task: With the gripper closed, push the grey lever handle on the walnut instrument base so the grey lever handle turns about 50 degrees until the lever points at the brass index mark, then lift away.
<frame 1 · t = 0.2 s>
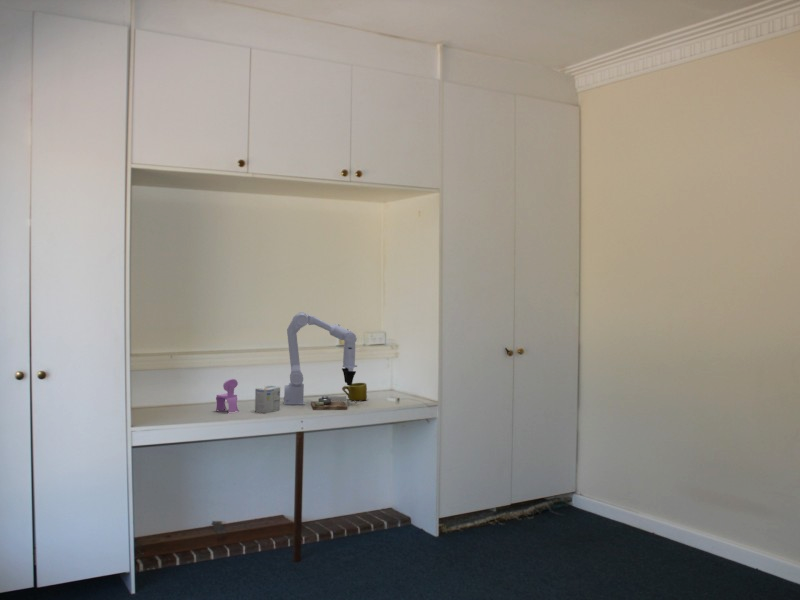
hand: (348, 383, 371), 10 cm above the table, fingers open, 7 cm apart
toy chair: (227, 411, 342), on the table
instrument base: (328, 407, 360), on the table
light bulb box: (267, 411, 347), on the table
mug: (354, 400, 383), on the table
grey lever handle: (332, 400, 361), point 3 cm above the table, hinge at 0.0°
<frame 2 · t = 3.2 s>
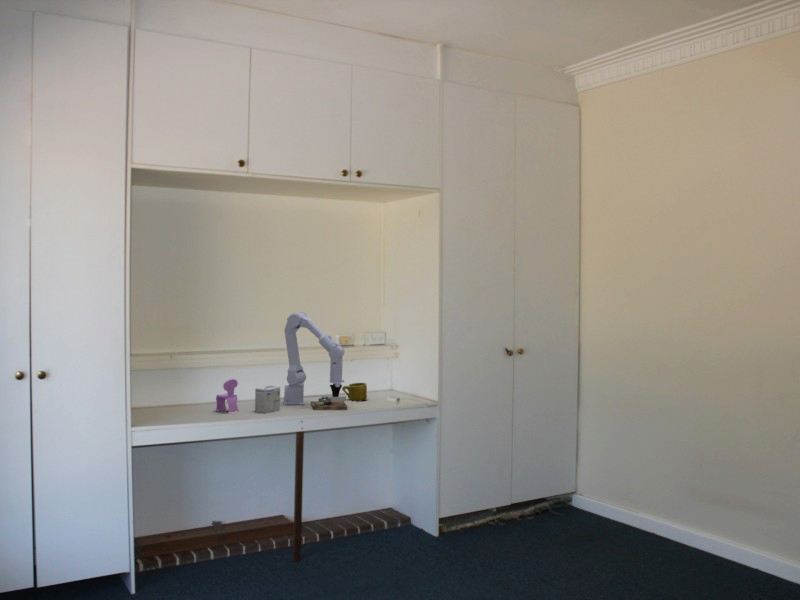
hand: (335, 399, 361), 3 cm above the table, fingers closed, pressing on grey lever handle
grey lever handle: (332, 400, 360), point 3 cm above the table, hinge at -4.3°, touching gripper
everything else where it was.
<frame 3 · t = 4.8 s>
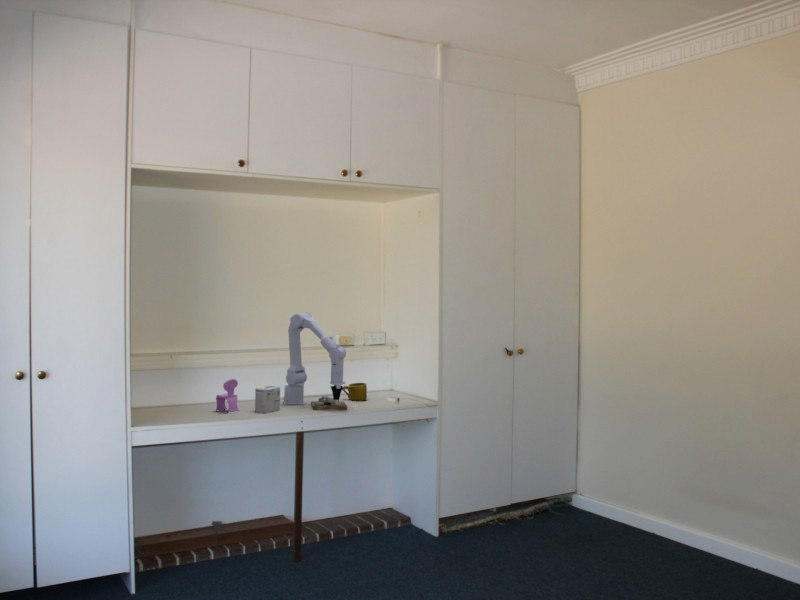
hand: (336, 401, 357), 3 cm above the table, fingers closed
grey lever handle: (329, 401, 357), point 3 cm above the table, hinge at -61.8°
everything else where it was.
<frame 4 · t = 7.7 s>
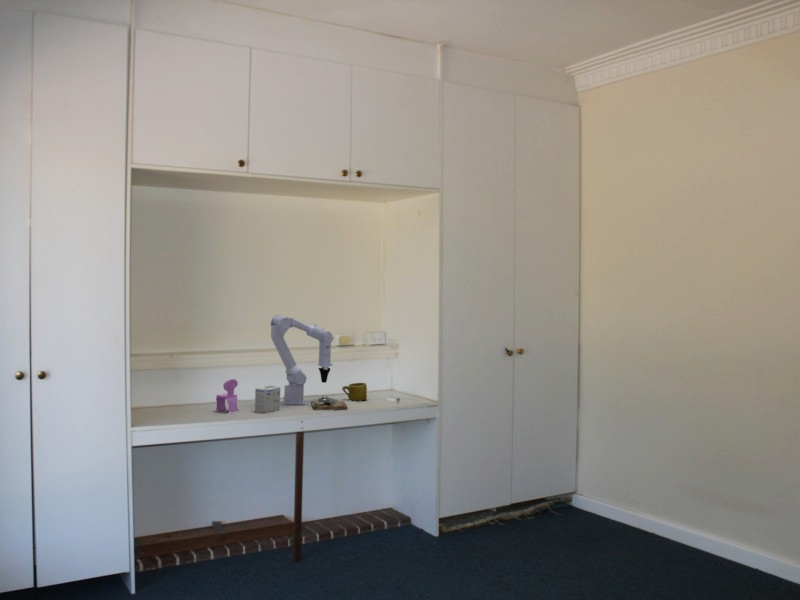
hand: (324, 382, 375), 9 cm above the table, fingers closed
nothing on the table moved.
at the end: grey lever handle at -62° (first picture: +0°); mug moved 0.3 cm from its start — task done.
